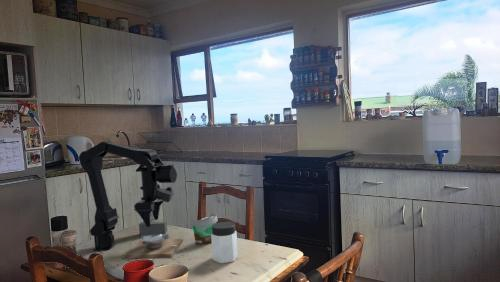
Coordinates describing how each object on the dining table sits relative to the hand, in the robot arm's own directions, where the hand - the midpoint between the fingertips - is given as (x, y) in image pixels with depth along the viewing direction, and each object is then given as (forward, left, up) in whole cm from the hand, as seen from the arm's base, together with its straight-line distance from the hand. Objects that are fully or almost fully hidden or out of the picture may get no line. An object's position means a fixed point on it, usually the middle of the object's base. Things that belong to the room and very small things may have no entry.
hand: (152, 223), depth 140 cm
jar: (+29, -11, -11) cm, 33 cm away
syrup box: (-9, +20, -11) cm, 24 cm away
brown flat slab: (0, 0, -10) cm, 10 cm away
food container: (+20, +7, -11) cm, 24 cm away
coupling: (0, 0, -7) cm, 7 cm away
